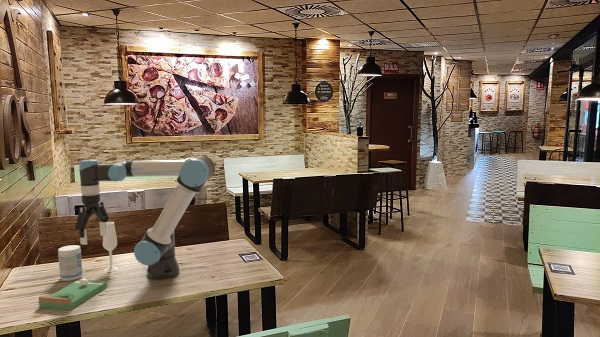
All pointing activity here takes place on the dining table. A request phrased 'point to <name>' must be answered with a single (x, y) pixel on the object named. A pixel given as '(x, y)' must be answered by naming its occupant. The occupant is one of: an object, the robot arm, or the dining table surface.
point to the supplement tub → (70, 262)
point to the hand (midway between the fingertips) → (94, 239)
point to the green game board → (71, 295)
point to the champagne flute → (110, 244)
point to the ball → (84, 282)
